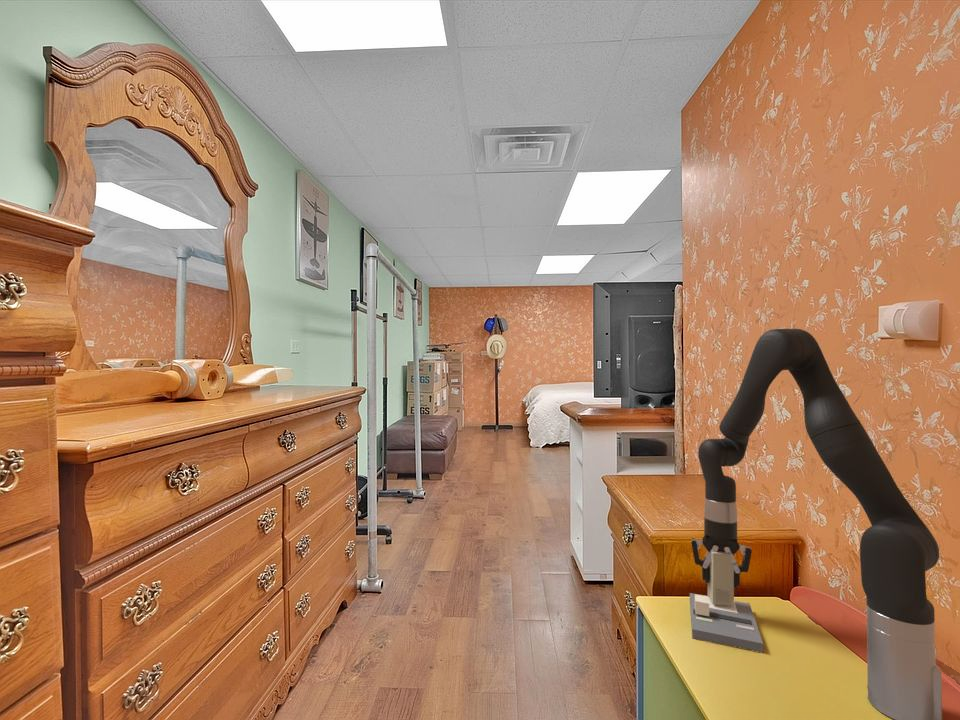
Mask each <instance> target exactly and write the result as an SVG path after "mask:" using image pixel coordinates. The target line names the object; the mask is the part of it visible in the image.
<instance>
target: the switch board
mask: <svg viewBox="0 0 960 720" xmlns="http://www.w3.org/2000/svg"><path fill="white" fill-rule="evenodd" d="M695 594H696V595H700V594H697V593H692V592H689V609H690V610H689V611H690V621H691V626H690V627H691V638H692V639H694V640H699V641H705V642H709V643H712V644H713V643H715V644H718V645H723V646H727V645H729V646H728V647H732V646H736V647H735V648H737V647H741V648H740V649H742V648H745V649H744V650H746V649H750V650H749V651H751V650H754V651H753V652H756V651H758V652H757V653H761V652H762V653H761V654H764V642H763V639H762V636H761V633H760V630H759V627H758V623H757V621H756V618H755V615H754V612H753V610H752V607H751V604H750V603H748V602H743V601H736V600H734V605H725V604H714V603H712V601H711V600H710V599H709V597H708V599H709V616H704V615H699V614H695ZM701 595H702V596H705V594H704V595H703V594H701Z"/></svg>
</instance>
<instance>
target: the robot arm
mask: <svg viewBox="0 0 960 720" xmlns="http://www.w3.org/2000/svg"><path fill="white" fill-rule="evenodd" d="M782 371H789V373H790V374H791V376H792V377H793V379H794V381H795V383H796V385H797V387H798V388H799V390H800V393H801V395H802V399H803V408H804V409H803V415H804V418H803V419H804V426H805V429H806V430H805V431H806V433H807V436H808V437H809V439H810V441H811V442H812V445H813V446H814V448H815V450H816V453H817V454H818V456H819V458H820V459H821V460H822V462H823V463H824V464H825V466H826V467H827V468H828V470H830V472H832V473H833V474H834V476H836V478H837V479H838V480H839V481H840V482H841V483H842V484H843V485H845V486H846V488H847V489H848V490H849V491H850V492H851V493H852V494H853V495H854V497H856V499H857V500H858V502H859V503H860V505H861V507H862V509H863V511H864V512H865V515H866V516H867V518H868V520H869V523H870V525H871V526H870V527H868V528H867V529H865V531H864V532H863V533H862V536H861V538H860V544H859V561H860V577H861V579H860V580H861V586H862V589H863V592H864V593H865V597H866V599H865V600H866V646H867V647H866V652H867V653H866V655H867V656H866V658H867V659H866V663H867V664H866V665H867V668H866V670H867V685H866V686H867V687H866V688H867V699H868V702H869V703H870V704H871V705H872V707H874V708H875V709H876V710H878V711H880V713H882V714H884V715H885V716H887V717H889V718H891V719H893V720H943V699H942V698H943V697H942V694H943V692H942V691H943V689H942V688H943V687H942V685H943V684H942V680H943V679H942V671H941V668H940V667H938V665H937V664H936V639H935V638H936V633H935V631H936V629H935V628H936V627H935V626H936V625H935V624H936V623H935V622H936V621H935V620H936V619H935V616H936V615H935V607H934V605H933V604H932V602H931V601H930V600H929V599H928V598H927V586H926V585H927V584H926V583H927V581H926V572H928V571H929V570H931V569H933V568H934V567H935V566H936V565H937V563H938V561H939V559H940V547H939V544H938V542H937V541H936V539H935V536H934V535H933V533H932V532H931V531H930V529H929V528H928V527H927V525H926V524H925V523H924V521H923V520H922V519H921V517H920V516H919V515H918V513H917V512H916V511H915V509H914V508H913V506H912V505H911V504H910V502H909V501H908V500H907V498H906V497H905V496H904V494H903V493H902V491H901V490H900V488H899V487H898V485H897V483H896V481H895V480H894V477H892V474H891V472H890V471H889V468H887V465H886V464H885V462H884V460H883V459H882V456H881V455H880V454H879V451H878V450H877V448H876V446H875V445H874V442H873V440H872V439H871V437H870V435H869V434H868V433H867V430H866V429H865V427H864V426H863V424H862V422H861V420H860V419H859V418H858V417H857V415H856V413H855V412H854V410H853V409H852V406H851V405H850V403H849V401H848V400H847V398H846V397H845V394H844V393H843V391H842V390H841V388H840V387H839V385H838V383H837V382H836V379H835V378H834V375H833V374H832V371H831V369H830V367H829V364H828V362H827V360H826V358H825V356H824V354H823V352H822V349H821V347H820V345H819V343H818V341H817V340H816V338H815V337H814V336H813V334H811V333H809V332H808V331H807V330H804V329H801V328H774V329H773V328H772V329H770V330H767V331H765V332H763V333H762V334H761V336H760V337H759V338H758V340H757V341H756V344H755V346H754V349H753V351H752V353H751V356H750V360H749V362H748V364H747V367H746V371H745V373H744V375H743V378H742V380H741V383H740V386H739V389H738V391H737V393H736V395H735V396H734V399H733V401H732V402H731V404H730V406H729V408H728V409H727V411H726V412H725V414H724V416H723V418H722V420H721V422H720V423H719V431H720V433H721V434H722V435H723V436H724V437H723V438H707V439H705V440H703V441H702V442H700V444H699V446H698V450H697V456H698V461H699V464H700V468H701V471H702V476H703V480H704V482H705V484H704V485H705V487H704V489H705V490H704V492H705V494H704V495H705V498H704V506H703V515H704V517H703V519H704V521H703V522H704V524H703V525H704V527H703V528H704V530H703V537H702V539H696V538H694V537H692V538H691V541H690V542H691V547H692V548H691V549H692V553H693V559H694V564H695V565H698V566H700V567H701V578H702V580H703V581H705V584H708V566H709V564H710V562H711V561H712V559H711V552H712V551H714V552H717V551H720V552H726V554H731V559H732V560H731V564H734V589H737V587H739V586H740V585H741V584H740V582H741V581H740V579H741V578H740V575H741V573H748V572H749V568H750V562H751V558H752V553H753V552H752V551H753V550H752V548H751V546H750V545H742V544H740V543H739V541H738V507H737V483H736V480H735V479H734V478H733V477H731V476H729V475H725V474H724V471H723V467H733V466H736V465H738V464H740V462H742V460H743V459H744V457H745V455H746V451H747V447H748V445H749V441H750V440H749V439H750V436H751V435H752V433H753V432H754V431H755V429H756V427H757V426H758V424H759V423H760V422H761V419H762V417H763V414H764V412H765V406H766V397H767V393H768V390H769V387H770V386H771V384H772V383H773V382H774V380H775V379H776V377H778V375H780V373H781V372H782ZM702 545H703V547H705V549H706V553H705V555H704V558H703V559H701V558H700V553H699V549H701V546H702ZM738 551H740V552H741V555H743V556H742V562H741V564H739V565H738V562H737V561H736V558H735V556H734V557H733V555H732V554H734V555H736V554H737V552H738ZM708 552H709V554H708Z"/></svg>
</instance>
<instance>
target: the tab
mask: <svg viewBox="0 0 960 720" xmlns="http://www.w3.org/2000/svg"><path fill="white" fill-rule="evenodd" d="M694 594H695V614H699V615H704V616H709V599H708V595H704V596H702V595H703V594H699V595H696V594H697V593H694Z"/></svg>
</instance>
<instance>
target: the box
mask: <svg viewBox="0 0 960 720" xmlns="http://www.w3.org/2000/svg"><path fill="white" fill-rule="evenodd" d="M708 554H709V552H708ZM732 555H733V557H734V558H735V554H732ZM711 559H712V561H711V562H710V564H709V566H708V583H707V595H706V596H708V597H709V599H710V600H711V601H712V603H714V604H725V605H734V601H735V599H734V597H735V588H734V564H731V560H732V559H731V554H726V552H720V551H717V552H714V551H712V552H711Z"/></svg>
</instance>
